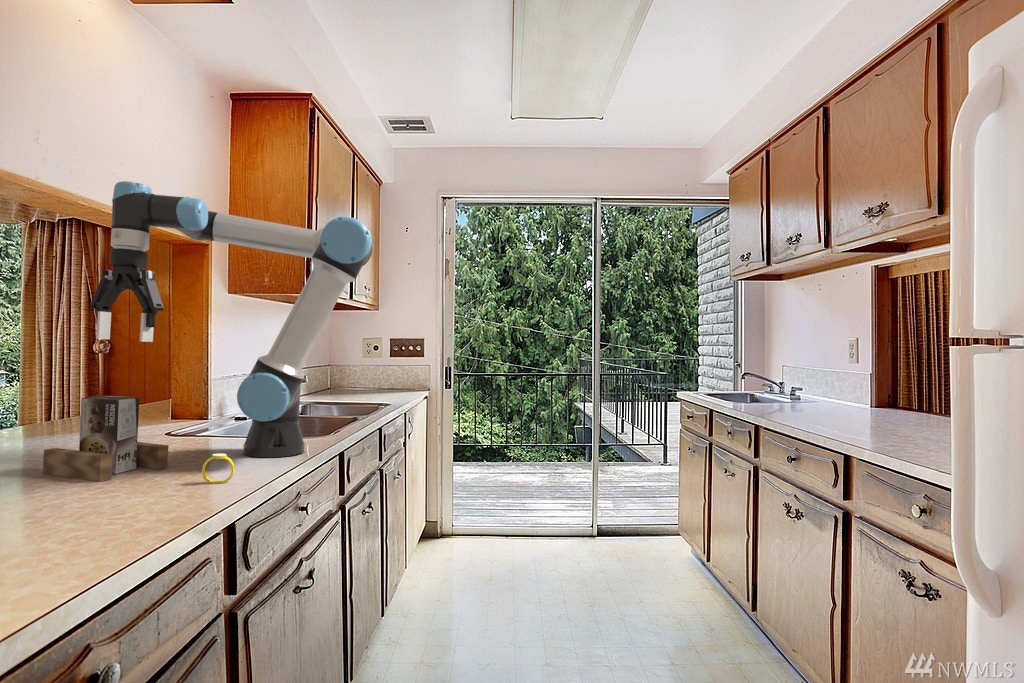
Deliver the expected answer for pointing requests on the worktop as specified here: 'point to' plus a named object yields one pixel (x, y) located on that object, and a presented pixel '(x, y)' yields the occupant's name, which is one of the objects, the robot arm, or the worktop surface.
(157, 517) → the worktop surface
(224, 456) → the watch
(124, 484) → the worktop surface
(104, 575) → the worktop surface
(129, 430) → the coffee box
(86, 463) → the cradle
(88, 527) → the worktop surface
